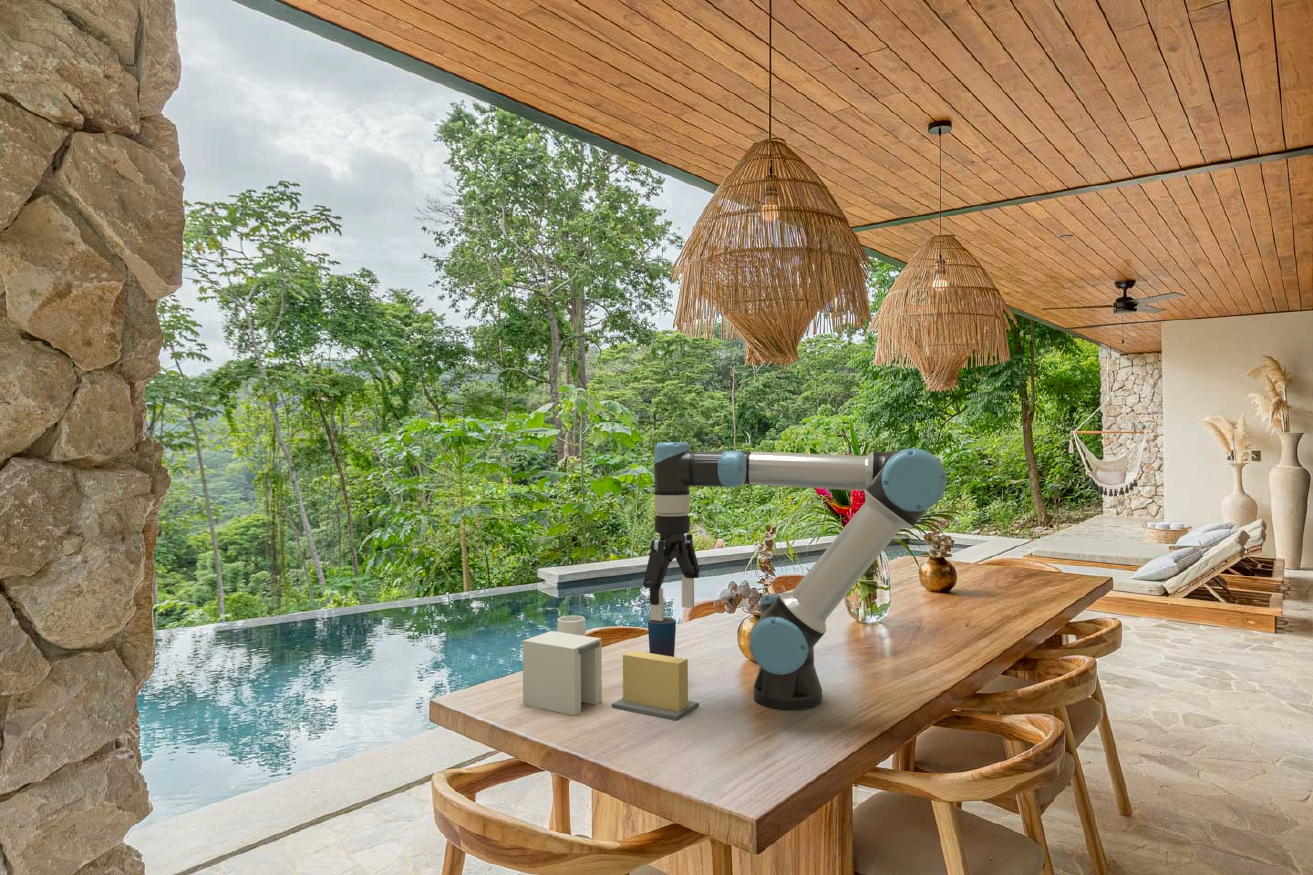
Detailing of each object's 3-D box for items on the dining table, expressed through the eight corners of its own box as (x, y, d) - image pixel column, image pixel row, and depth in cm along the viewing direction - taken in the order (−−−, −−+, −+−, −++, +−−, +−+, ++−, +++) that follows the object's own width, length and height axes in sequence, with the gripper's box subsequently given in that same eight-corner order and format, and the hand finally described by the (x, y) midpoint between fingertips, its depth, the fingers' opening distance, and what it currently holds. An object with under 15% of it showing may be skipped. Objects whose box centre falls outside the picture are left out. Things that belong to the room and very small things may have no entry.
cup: (681, 680, 187) (680, 618, 187) (669, 689, 181) (669, 624, 181) (655, 677, 190) (654, 615, 190) (643, 685, 184) (642, 621, 184)
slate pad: (698, 706, 169) (698, 702, 169) (676, 720, 160) (676, 716, 160) (636, 694, 177) (636, 690, 177) (611, 707, 169) (611, 703, 169)
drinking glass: (581, 685, 184) (580, 622, 184) (553, 684, 185) (553, 620, 185) (589, 677, 190) (588, 615, 190) (562, 675, 192) (562, 614, 192)
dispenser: (603, 702, 172) (603, 638, 172) (576, 715, 163) (576, 649, 164) (551, 691, 180) (551, 630, 180) (523, 704, 171) (522, 640, 171)
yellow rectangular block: (688, 705, 167) (687, 658, 167) (678, 711, 164) (678, 663, 164) (632, 695, 174) (632, 650, 174) (623, 700, 171) (622, 654, 171)
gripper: (684, 508, 179) (685, 601, 179) (625, 518, 158) (626, 623, 158) (713, 510, 176) (714, 604, 175) (657, 520, 154) (658, 627, 154)
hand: (673, 613), depth 167 cm, fingers open, 13 cm apart
